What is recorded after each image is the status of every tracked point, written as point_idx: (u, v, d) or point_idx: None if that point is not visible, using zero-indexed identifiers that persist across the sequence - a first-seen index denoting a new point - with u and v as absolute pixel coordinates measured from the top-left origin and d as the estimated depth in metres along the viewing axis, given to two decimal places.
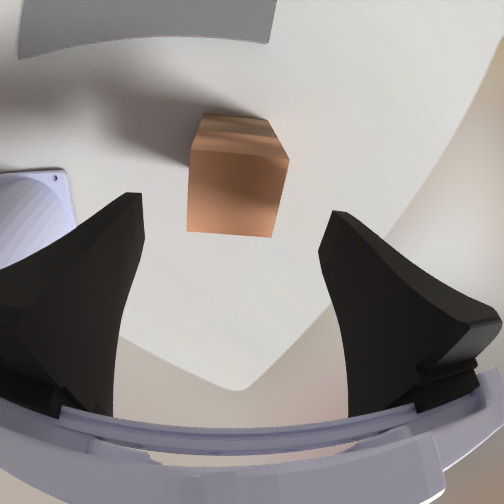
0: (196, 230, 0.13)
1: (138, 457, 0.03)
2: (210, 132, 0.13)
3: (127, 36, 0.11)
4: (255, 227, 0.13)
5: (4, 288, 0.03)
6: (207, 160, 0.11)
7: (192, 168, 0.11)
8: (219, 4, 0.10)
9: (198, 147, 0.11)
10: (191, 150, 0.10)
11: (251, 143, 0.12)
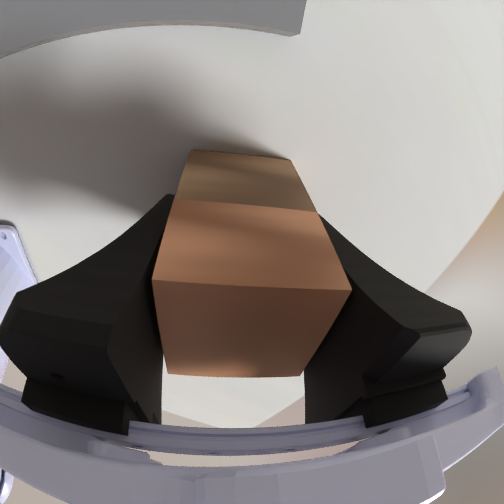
0: (183, 373, 0.08)
1: (138, 457, 0.03)
2: (197, 207, 0.07)
3: (63, 32, 0.05)
4: (276, 370, 0.08)
5: (69, 300, 0.04)
6: (189, 298, 0.05)
7: (162, 308, 0.06)
8: None
9: (169, 272, 0.05)
10: (154, 281, 0.05)
11: (275, 239, 0.07)
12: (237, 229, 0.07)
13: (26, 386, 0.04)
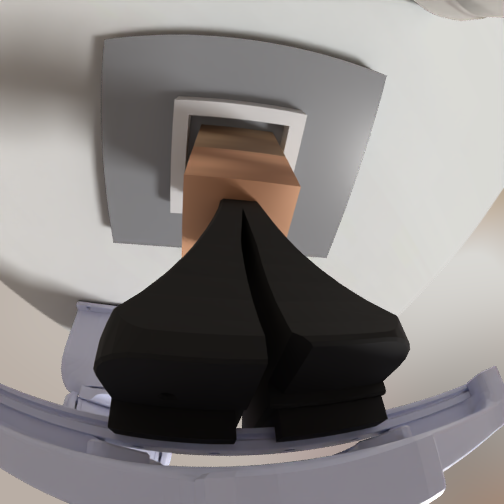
0: None
1: (138, 457, 0.03)
2: (208, 150, 0.11)
3: None
4: None
5: (192, 313, 0.04)
6: (204, 188, 0.09)
7: (186, 196, 0.10)
8: (297, 233, 0.20)
9: (193, 172, 0.09)
10: (185, 175, 0.09)
11: (255, 164, 0.11)
12: (233, 159, 0.11)
13: (113, 408, 0.04)
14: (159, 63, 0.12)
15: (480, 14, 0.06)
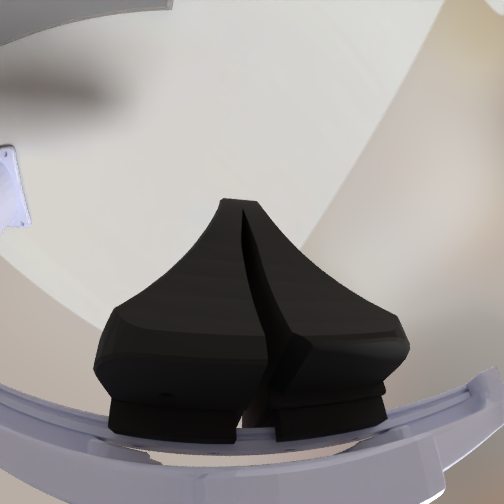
0: None
1: (138, 457, 0.03)
2: None
3: (53, 23, 0.09)
4: None
5: (192, 313, 0.04)
6: None
7: None
8: None
9: None
10: None
11: None
12: None
13: (113, 409, 0.04)
14: None
15: None
